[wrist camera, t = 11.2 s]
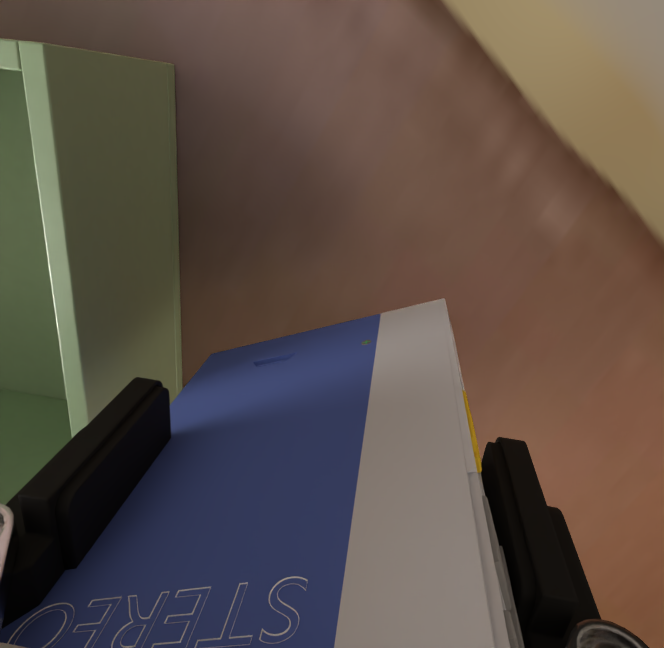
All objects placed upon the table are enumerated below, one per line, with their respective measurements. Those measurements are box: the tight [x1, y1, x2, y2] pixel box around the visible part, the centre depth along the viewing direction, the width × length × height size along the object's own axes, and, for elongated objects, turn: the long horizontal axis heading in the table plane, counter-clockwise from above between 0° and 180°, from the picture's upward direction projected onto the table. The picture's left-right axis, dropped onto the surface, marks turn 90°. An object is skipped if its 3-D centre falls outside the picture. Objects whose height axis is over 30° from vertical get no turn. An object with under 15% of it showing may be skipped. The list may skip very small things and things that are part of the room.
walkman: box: [0, 298, 525, 648], centre depth 11 cm, size 8×3×12 cm, turn 107°
